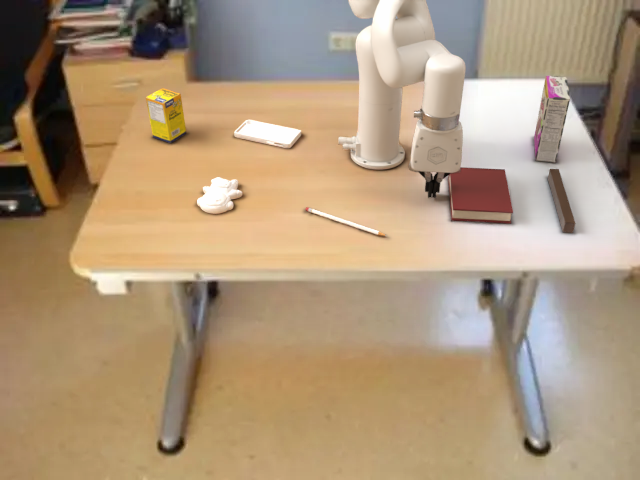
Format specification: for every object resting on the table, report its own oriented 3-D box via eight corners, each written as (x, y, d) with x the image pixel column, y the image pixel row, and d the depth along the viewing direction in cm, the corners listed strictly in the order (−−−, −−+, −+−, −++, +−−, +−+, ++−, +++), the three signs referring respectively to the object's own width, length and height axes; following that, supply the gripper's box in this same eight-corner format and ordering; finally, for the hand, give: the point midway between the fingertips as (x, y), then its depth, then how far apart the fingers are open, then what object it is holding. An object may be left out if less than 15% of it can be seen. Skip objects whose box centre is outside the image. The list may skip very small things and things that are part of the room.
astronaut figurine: (249, 186, 156) (248, 174, 154) (226, 217, 147) (225, 205, 145) (213, 179, 158) (212, 168, 156) (188, 209, 149) (187, 197, 147)
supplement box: (187, 133, 174) (181, 93, 167) (170, 144, 170) (164, 103, 163) (168, 127, 177) (162, 87, 170) (152, 137, 173) (145, 97, 166)
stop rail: (562, 232, 142) (565, 222, 140) (547, 177, 158) (549, 168, 156) (572, 232, 142) (575, 222, 140) (556, 178, 157) (558, 168, 156)
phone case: (302, 134, 173) (247, 123, 178) (301, 129, 173) (247, 118, 177) (289, 149, 168) (233, 137, 173) (289, 144, 167) (233, 132, 172)
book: (451, 220, 145) (453, 208, 143) (448, 178, 158) (449, 166, 156) (510, 223, 144) (513, 211, 142) (502, 180, 157) (504, 169, 155)
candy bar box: (532, 137, 172) (545, 74, 161) (553, 139, 171) (567, 76, 161) (533, 161, 163) (547, 96, 153) (556, 163, 162) (571, 98, 152)
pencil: (307, 209, 148) (307, 206, 148) (387, 236, 141) (387, 233, 141) (305, 211, 148) (305, 208, 147) (385, 238, 140) (385, 235, 140)
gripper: (401, 125, 138) (396, 202, 149) (479, 128, 136) (468, 206, 148) (402, 107, 144) (396, 182, 155) (476, 110, 142) (465, 186, 154)
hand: (431, 194), depth 151 cm, fingers closed
